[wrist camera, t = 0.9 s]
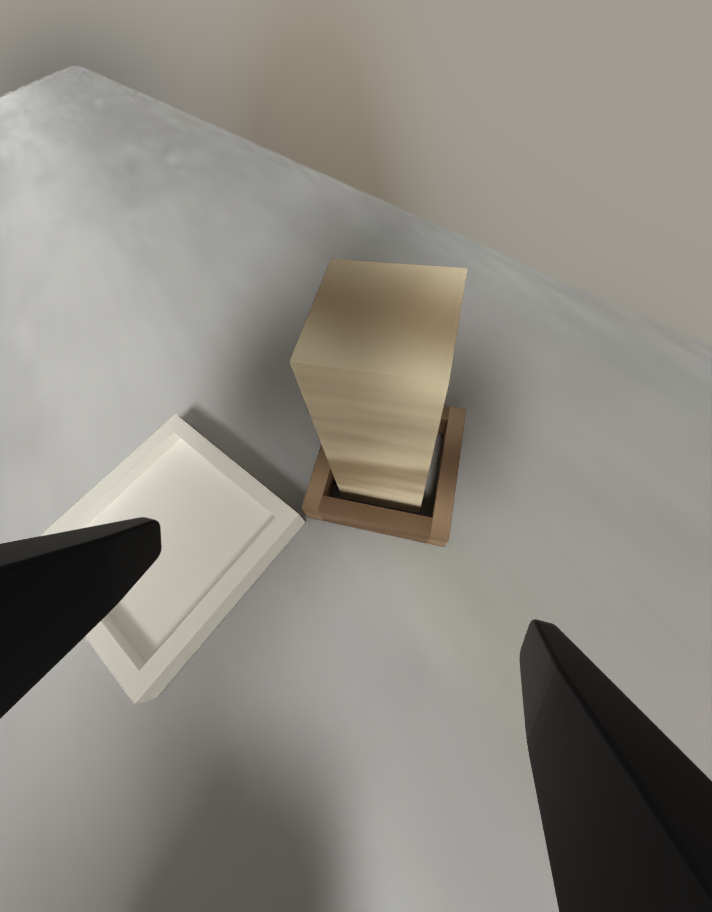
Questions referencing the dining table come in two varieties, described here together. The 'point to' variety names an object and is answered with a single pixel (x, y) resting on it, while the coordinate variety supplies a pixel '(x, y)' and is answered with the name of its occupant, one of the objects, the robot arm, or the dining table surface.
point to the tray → (180, 551)
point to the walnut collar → (389, 520)
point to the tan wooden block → (379, 373)
